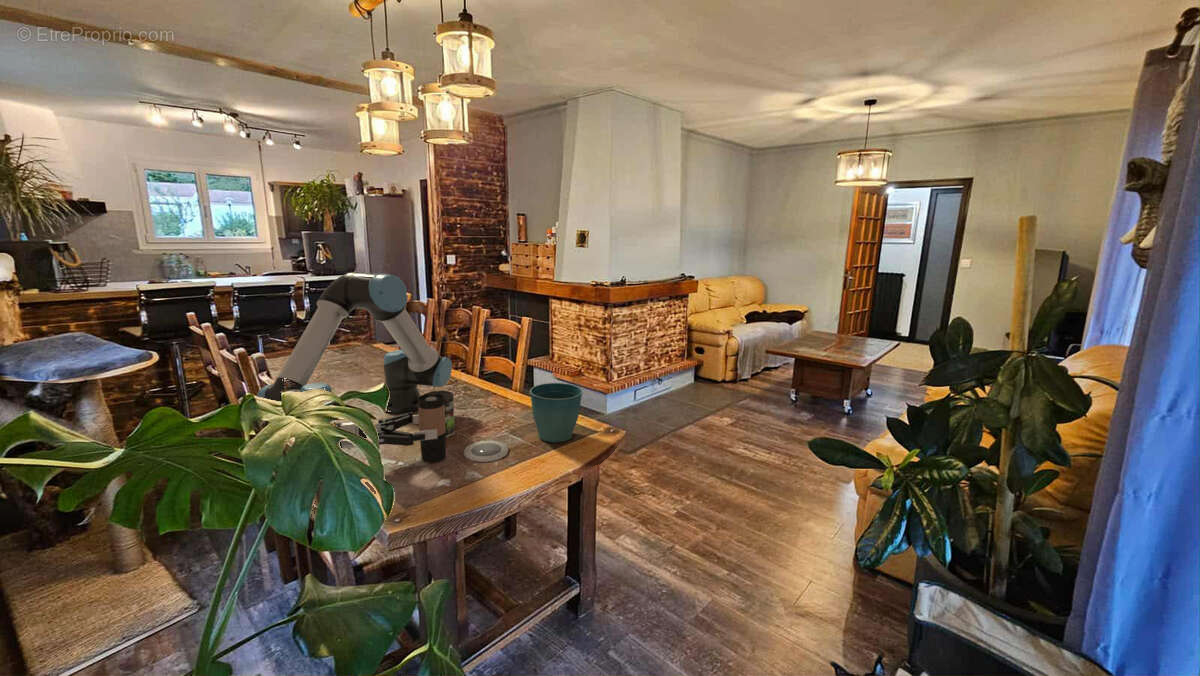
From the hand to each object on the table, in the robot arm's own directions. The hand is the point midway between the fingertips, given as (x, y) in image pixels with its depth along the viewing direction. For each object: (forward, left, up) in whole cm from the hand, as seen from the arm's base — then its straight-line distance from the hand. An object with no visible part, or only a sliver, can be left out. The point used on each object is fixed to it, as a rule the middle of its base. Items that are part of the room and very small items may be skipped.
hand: (436, 425), depth 146 cm
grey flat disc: (+1, +15, -11) cm, 19 cm away
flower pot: (-4, +40, -11) cm, 42 cm away
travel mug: (0, -1, -11) cm, 11 cm away
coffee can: (-19, +2, -11) cm, 22 cm away
